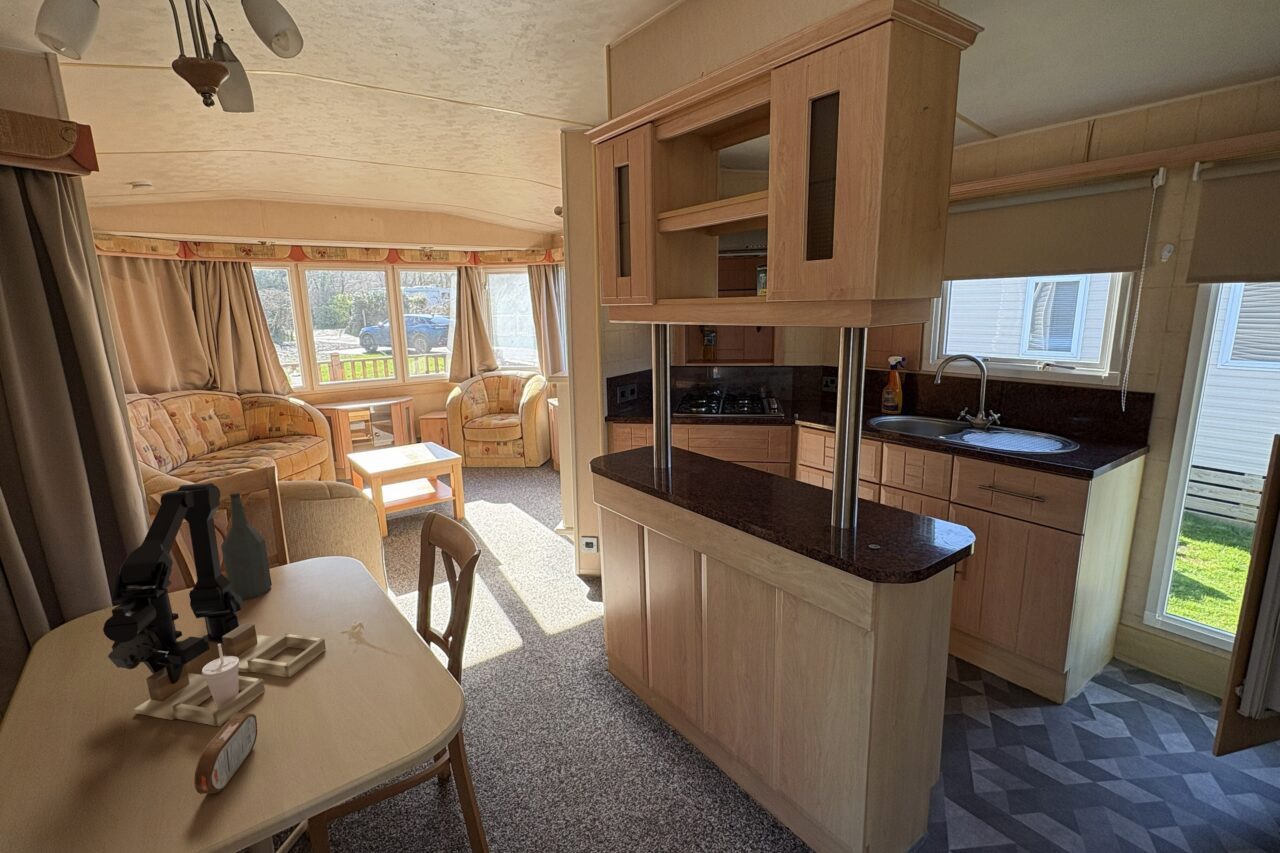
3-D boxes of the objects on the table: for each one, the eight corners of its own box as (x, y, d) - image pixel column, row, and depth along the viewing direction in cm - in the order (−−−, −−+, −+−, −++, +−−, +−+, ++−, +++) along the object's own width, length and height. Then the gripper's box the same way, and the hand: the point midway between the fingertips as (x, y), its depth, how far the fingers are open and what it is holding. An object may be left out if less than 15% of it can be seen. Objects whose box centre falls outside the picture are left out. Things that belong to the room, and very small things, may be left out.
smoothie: (253, 696, 127) (243, 637, 123) (230, 717, 120) (219, 656, 117) (225, 695, 127) (214, 636, 124) (201, 716, 121) (189, 654, 118)
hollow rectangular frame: (212, 667, 137) (208, 643, 135) (256, 638, 148) (252, 616, 147) (288, 678, 132) (284, 654, 131) (327, 648, 143) (324, 625, 142)
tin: (246, 740, 114) (239, 702, 112) (264, 739, 114) (257, 701, 113) (196, 806, 99) (187, 763, 98) (216, 805, 100) (207, 762, 98)
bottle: (226, 592, 172) (208, 493, 165) (265, 580, 179) (249, 484, 172) (236, 604, 165) (218, 501, 158) (276, 591, 172) (260, 492, 165)
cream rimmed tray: (135, 713, 122) (129, 687, 120) (190, 677, 133) (185, 653, 132) (216, 728, 117) (211, 701, 116) (266, 689, 129) (262, 664, 127)
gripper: (75, 631, 117) (92, 700, 121) (151, 642, 113) (166, 713, 117) (134, 603, 128) (148, 667, 131) (204, 612, 124) (217, 678, 127)
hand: (168, 681), depth 126 cm, fingers closed on cream rimmed tray, 3 cm apart
